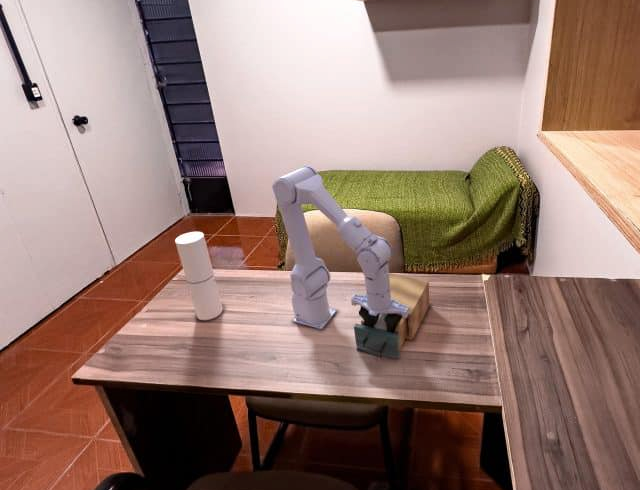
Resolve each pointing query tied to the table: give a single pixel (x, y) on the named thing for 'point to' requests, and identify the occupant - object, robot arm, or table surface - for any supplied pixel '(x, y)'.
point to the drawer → (381, 338)
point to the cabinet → (411, 298)
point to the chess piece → (381, 323)
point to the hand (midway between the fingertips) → (381, 332)
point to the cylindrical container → (199, 275)
